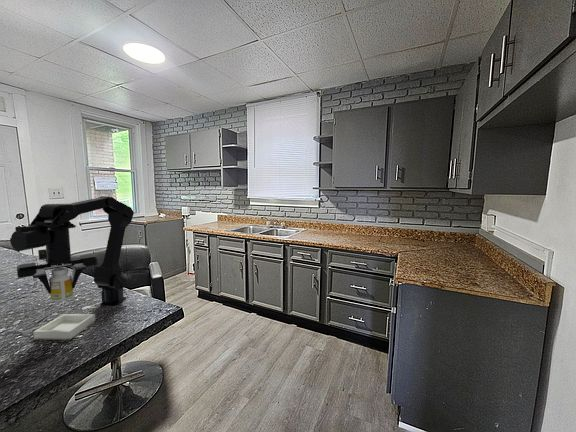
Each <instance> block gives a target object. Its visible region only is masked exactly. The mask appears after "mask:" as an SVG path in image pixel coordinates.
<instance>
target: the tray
mask: <svg viewBox="0 0 576 432" xmlns="http://www.w3.org/2000/svg"><path fill="white" fill-rule="evenodd" d="M95 322H96V314H95V313H62V314H61V315H59V316H57V317H56V318H55V319H53V320H51V321H49V322H48V323H46V324H44V325H42V326H41V327H38V329H36V330H34V331H33V339H34V340H71V339H74V337H75V336H77V335H78V334H79V333H81V332H82V331H84V330H85V329H86V328H89V326H91V325H92V324H93V323H95Z"/></svg>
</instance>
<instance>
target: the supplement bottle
mask: <svg viewBox="0 0 576 432" xmlns="http://www.w3.org/2000/svg"><path fill="white" fill-rule="evenodd" d="M48 282H49V286H50V290H51V293H50V299H51V301H52V302H61V301H66V300H69V299H71V298H73V296H74V290H73V288H72V275H71V274H70V273H69V268H68V267H61V268H55V269H51V276H50V278H49V279H48Z"/></svg>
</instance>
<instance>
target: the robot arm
mask: <svg viewBox="0 0 576 432" xmlns="http://www.w3.org/2000/svg"><path fill="white" fill-rule="evenodd" d="M101 209H102V211H103V212H104V213H105V214H107V219H108V222H109V225H110V229H109V234H108V238H107V244H106V248H105V254H104V258H103V261H102V263H101V264H100V265H99V266H97V265H98V258H97V257H96V256H95V255H94V254H92V253H91V254H85V255H80V256H79V258H76V259H72V254H71V241H70V240H71V239H70V238H71V237H70V229H75V228H76V227H77V226H76V225H75V224H74V223H72V222H71V221H72V220H74V219H77V217H78V216H80V215H81V214H85V213H90V212H93V211H97V210H101ZM134 214H135V213H134V210H133V208H132V207H130V206H129V205H127V204H125V203H123V202H121V201H118V200H117V199H116V198H114V197H113V196H107V195H106V196H99V197H95V198H90V199H85V200H80V201H76V202H72V203H71V202H70V203H47V204H46V203H45V204H43V205H41V206H40V208H39V210H38V213H37V214H36V216H35V217H34V219H33V220H32V221H31V223H30V224H29V225H25V226H24V225H23V226H22V225H21V226H15V231H13V232H12V233H11V237H10V239H9V241H10V245H11V246H12V248H13V249H14V250H15V251H17V252H22V251H28V250H33V249H36V248H37V249H38V248H43V247H45V248H44V249H38V250H37V252H38V255H37V256H38V260H39V261H42V260H45V264H44V263H43V264H36V262H29V263H21V264H18V265H17V266H16V273H17V279H22V278H28V277H32V279H38V280H39V281H40V282H41V283H42V284H43V286H44V289H46V291H47V293H48V294H50V293H51V290H50V283H49V279H48V276H47V273H46V271H47V270H53V269H57V268H64V267H66V268H68V267H72V269H71V270H72V275H71V277H72V288H73V289H75V287H76V285H77V282H78V279H79V278H80V276H81V274H82V272H83V271H85V270H87V268H88V267H93V266H95V268H94V272H93V275H92V278H93V282H94V283H95V285H96V286H97V288H98V289H101V291H100V292H101V294H100V295H101V302H100V303H99V305H100V306H117V305H119V304H120V303H121V302H123V301H124V300H125V299H126V298H127V296H124V288H125V287H126V286H127V285H128V284H127V283H128V280H127V279H125V277H123V276H122V268H121V267H120V263H119V261H120V256H121V252H122V246H123V242H124V237H125V232H126V228H127V227H129V225H130V224H131V223H132V220H133V217H134ZM50 295H51V294H50Z"/></svg>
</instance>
